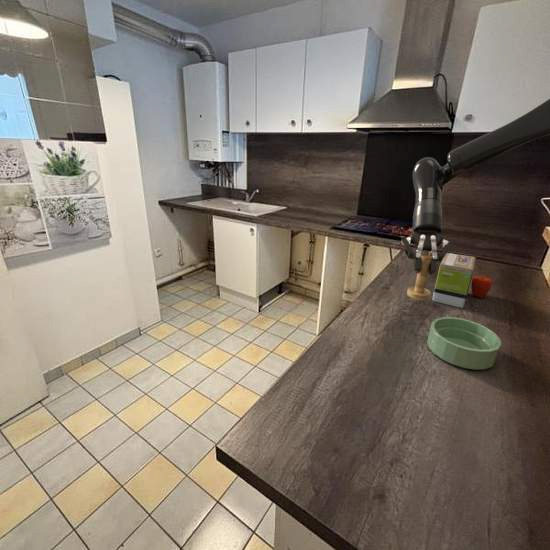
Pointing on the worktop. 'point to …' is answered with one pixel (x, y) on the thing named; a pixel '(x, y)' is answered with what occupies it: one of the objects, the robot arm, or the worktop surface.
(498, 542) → the worktop surface
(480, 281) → the red bell pepper
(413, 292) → the brown round-based rod
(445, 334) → the bowl
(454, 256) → the tea box
